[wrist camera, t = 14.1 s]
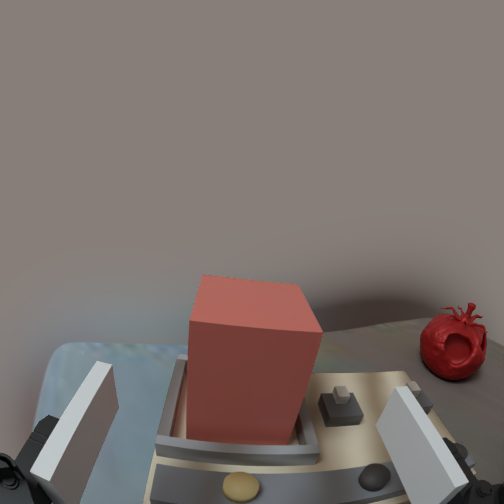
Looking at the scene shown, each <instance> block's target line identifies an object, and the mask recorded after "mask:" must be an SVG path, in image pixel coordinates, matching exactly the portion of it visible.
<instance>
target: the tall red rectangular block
mask: <svg viewBox="0 0 504 504" xmlns="http://www.w3.org/2000/svg"><path fill="white" fill-rule="evenodd" d="M322 335H323V331H322V329H321V328H320V326H319V324H318V322H317V320H316V318H315V316H314V314H313V312H312V310H311V308H310V306H309V304H308V302H307V300H306V299H305V297H304V295H303V293H302V291H301V289H300V287H299V285H293V284H283V283H274V282H264V281H255V280H246V279H237V278H229V277H219V276H212V275H204V274H203V276H202V279H201V283H200V286H199V289H198V293H197V297H196V300H195V303H194V307H193V310H192V314H191V317H190V322H189V341H188V363H187V398H186V439H189V440H197V441H206V442H216V443H228V444H244V445H287V444H288V442H289V439H290V436H291V433H292V431H293V428H294V425H295V422H296V419H297V416H298V413H299V410H300V407H301V404H302V401H303V398H304V395H305V392H306V389H307V386H308V383H309V379H310V376H311V373H312V370H313V366H314V363H315V360H316V356H317V353H318V349H319V346H320V342H321V338H322Z"/></svg>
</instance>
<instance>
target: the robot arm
mask: <svg viewBox="0 0 504 504" xmlns="http://www.w3.org/2000/svg"><path fill="white" fill-rule="evenodd" d="M118 408H119V406H118V400H117V394H116V388H115V381H114V374H113V367H112V365H111V364H107V363H103V362H99V361H97V362H96V363H95V365H94V366H93V368H92V369H91V371H90V372H89V374H88V375H87V377H86V378H85V380H84V382H83V383H82V385H81V386H80V388H79V389H78V391H77V392H76V394H75V396H74V397H73V399H72V400H71V402H70V403H69V405H68V407H67V408H66V410H65V412H64V413H63V415H62V416H61V418H60V419H58V418H55V417H53V416H50V415H48V416H46V417H45V418H44V419H42V420H41V421H39V423H38V424H37V426H36V427H35V429H34V432H32V434H31V435H30V437H29V439H28V440H27V441H26V443H25V445H24V446H23V448H22V450H21V451H20V453H19V454H18V456H17V458H16V459H15V461H14V460H13V459H12V458H11V457H10V456H8V455H6V454H4V453H0V504H51V503H52V502H53V504H79V503H80V500H81V497H82V495H83V492H84V489H85V487H86V484H87V482H88V479H89V477H90V474H91V472H92V469H93V467H94V464H95V462H96V459H97V457H98V455H99V452H100V450H101V447H102V445H103V443H104V440H105V438H106V436H107V433H108V431H109V429H110V426H111V424H112V422H113V420H114V417H115V415H116V413H117V411H118ZM375 426H376V428H377V430H378V432H379V434H380V436H381V438H382V440H383V442H384V445H385V447H386V449H387V451H388V453H389V455H390V458H391V460H392V462H393V464H394V466H395V468H396V471H397V473H398V475H399V477H400V479H401V482H402V484H403V486H404V488H405V491H406V493H407V495H408V497H409V500H410V502H411V504H504V483H503V484H497V485H491V484H490V483H489V482H487V481H485V480H479V481H478V480H477V479H476V477H475V476H474V474H473V473H472V471H471V469H470V468H469V466H468V465H467V463H466V461H465V460H464V458H462V455H461V454H460V452H458V449H457V448H456V446H455V445H454V443H453V442H451V441H450V440H449V439H448V438H446V437H444V438H441V436H440V435H439V433H438V431H437V430H436V428H435V427H434V425H433V424H432V422H431V421H430V419H429V418H428V416H427V415H426V413H425V412H424V410H423V409H422V407H421V406H420V404H419V403H418V401H417V400H416V398H415V397H414V395H413V394H412V393H411V391H410V390H409V388H408V387H407V386H402V387H395V388H394V390H393V392H392V394H391V396H390V398H389V400H388V402H387V404H386V406H385V408H384V410H383V412H382V414H381V416H380V418H379V419H378V421H377V423H376V425H375Z"/></svg>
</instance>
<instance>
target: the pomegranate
mask: <svg viewBox="0 0 504 504" xmlns="http://www.w3.org/2000/svg"><path fill="white" fill-rule="evenodd" d="M475 307H476V305H475V304H473V303H468V309H467V312H466V313H465V314H464V313H463V311H462V308H459V307H458V309H460V310H461V316H460V317H459V315H458V314H457V312H456V311H455V309H454V308H453V307H447V308H442V309H452V310H453V312H454V314H455V315H454V314H439V315H437V316H435V317H434V318H433V320H432V321H430V322H429V323H428V325H427V326H426V327H425V328H424V329H423V331H422V333H421V337H420V348H421V356H422V358H423V360H424V362H425V364H426V366H427V367H428V368H429V369H430V370H431V371H432V372H433V373H435V374H436V375H437V376H439V377H442V378H444V379H447V380H459V379H465V378H468V377H469V376H471V375H472V374H473V373H474V372H475V371H476V370H478V369H479V368H480V366H481V365H482V364H483V362H484V360H485V354H486V346H487V340H486V333H487V332H486V329H485V326H484V325H479V324H477V323H473V321H474V319H476V318H482V317H481V316H479V315H474V316H472V317H471V314H472V311H473V310H474V309H475Z"/></svg>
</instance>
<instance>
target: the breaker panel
mask: <svg viewBox="0 0 504 504" xmlns="http://www.w3.org/2000/svg"><path fill="white" fill-rule="evenodd" d="M187 363H188V355H184V354H178V357H177V360H176V364H175V367H174V371H173V375H172V378H171V382H170V386H169V389H168V393H167V397H166V401H165V405H164V408H163V412H162V416H161V420H160V424H159V428H158V432H157V436H156V440H155V451H154V455H153V460H152V464H151V468H150V473H149V477H148V482H147V486H146V491H145V496H144V501H143V504H411V502H410V500H409V497H408V495H407V493H406V491H405V488H404V486H403V484H402V482H401V479H400V477H399V475H398V473H397V471H396V468H395V466H394V464H393V462H392V460H391V458H390V455H389V453H388V451H387V449H386V447H385V445H384V442H383V440H382V438H381V436H380V434H379V432H378V430H377V428H376V426H375V425H376V423H377V421H378V419H379V418H380V416H381V414H382V412H383V410H384V408H385V406H386V404H387V402H388V400H389V398H390V396H391V394H392V392H393V390H394V388H395V387H402V386H407V387H408V388H409V390H410V391H411V393H412V394H413V395H414V397H415V398H416V400H417V401H418V403H419V404H420V406H421V407H422V409H423V410H424V412H425V413H426V415H427V416H428V418H429V419H430V421H431V422H432V424H433V425H434V427H435V428H436V430H437V431H438V433H439V435H440V436H441V438H444V437H446V438H448V439H449V440H450V441H451V442H453V443H454V445H455V446H456V448H457V449H458V452H460V454H461V455H462V458H464V460H465V461H466V463H467V465H468V466H469V468H470V469H471V471H472V473H473V474H474V476H475V474H476V472H475V470H474V469H473V466H474V465H475V464H476V462H475V460H474V459H473V457H472V456H471V454H470V453H469V451H468V450H467V449H466V447H465V446H464V444H463V443H462V442H459V443H456V442H455V441H454V439H453V438H452V436H451V435H450V433H449V432H448V431H447V429H446V428H445V426H444V425H443V424H442V422H441V421H440V419H439V418H438V417H437V415H436V414H435V412H434V411H433V410H432V406H433V405H432V403H431V402H430V401H429V399H428V398H427V397H426V395H425V394H424V393H423V391H422V390H421V389H420V387H419V386H418V385H417V384H416V382H415V381H413V382H412V381H411V380H410V378H409V377H408V376H407V374H406V373H405V372H404V371H394V372H374V373H311V376H310V379H309V383H308V386H307V389H306V392H305V395H304V398H303V401H302V404H301V407H300V410H299V413H298V416H297V419H296V422H295V425H294V428H293V431H292V433H291V436H290V439H289V442H288V444H287V445H244V444H228V443H216V442H206V441H197V440H189V439H186V398H187Z"/></svg>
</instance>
